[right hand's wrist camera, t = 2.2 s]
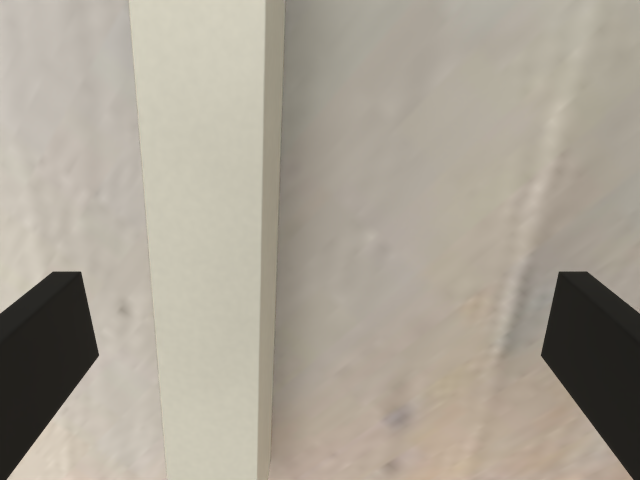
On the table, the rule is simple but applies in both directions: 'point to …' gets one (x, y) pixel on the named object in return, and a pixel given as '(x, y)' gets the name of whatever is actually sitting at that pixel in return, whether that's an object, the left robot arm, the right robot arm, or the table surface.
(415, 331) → the table surface
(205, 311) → the post
